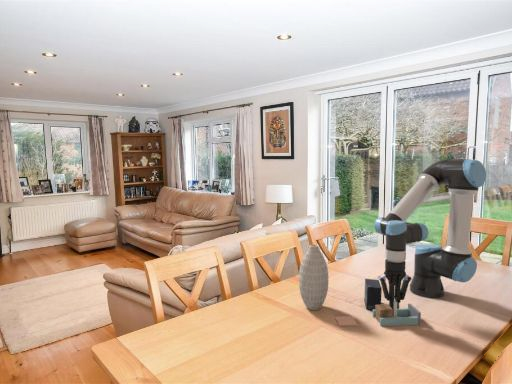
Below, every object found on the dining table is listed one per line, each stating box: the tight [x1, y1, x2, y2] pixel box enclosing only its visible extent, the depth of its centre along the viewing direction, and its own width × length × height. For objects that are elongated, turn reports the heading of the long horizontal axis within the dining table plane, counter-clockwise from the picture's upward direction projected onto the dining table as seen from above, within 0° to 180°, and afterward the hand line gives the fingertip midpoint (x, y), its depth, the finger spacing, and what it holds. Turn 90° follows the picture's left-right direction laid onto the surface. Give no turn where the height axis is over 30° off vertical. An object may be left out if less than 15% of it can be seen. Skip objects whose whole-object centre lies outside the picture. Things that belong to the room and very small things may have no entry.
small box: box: [363, 278, 383, 311], centre depth 158 cm, size 11×6×10 cm, turn 168°
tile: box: [334, 316, 359, 328], centre depth 143 cm, size 7×7×1 cm
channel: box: [372, 303, 422, 327], centre depth 144 cm, size 16×8×5 cm, turn 93°
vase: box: [298, 243, 329, 311], centre depth 155 cm, size 13×13×28 cm
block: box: [375, 303, 393, 324], centre depth 143 cm, size 5×5×6 cm
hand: (393, 316), depth 143 cm, fingers closed
